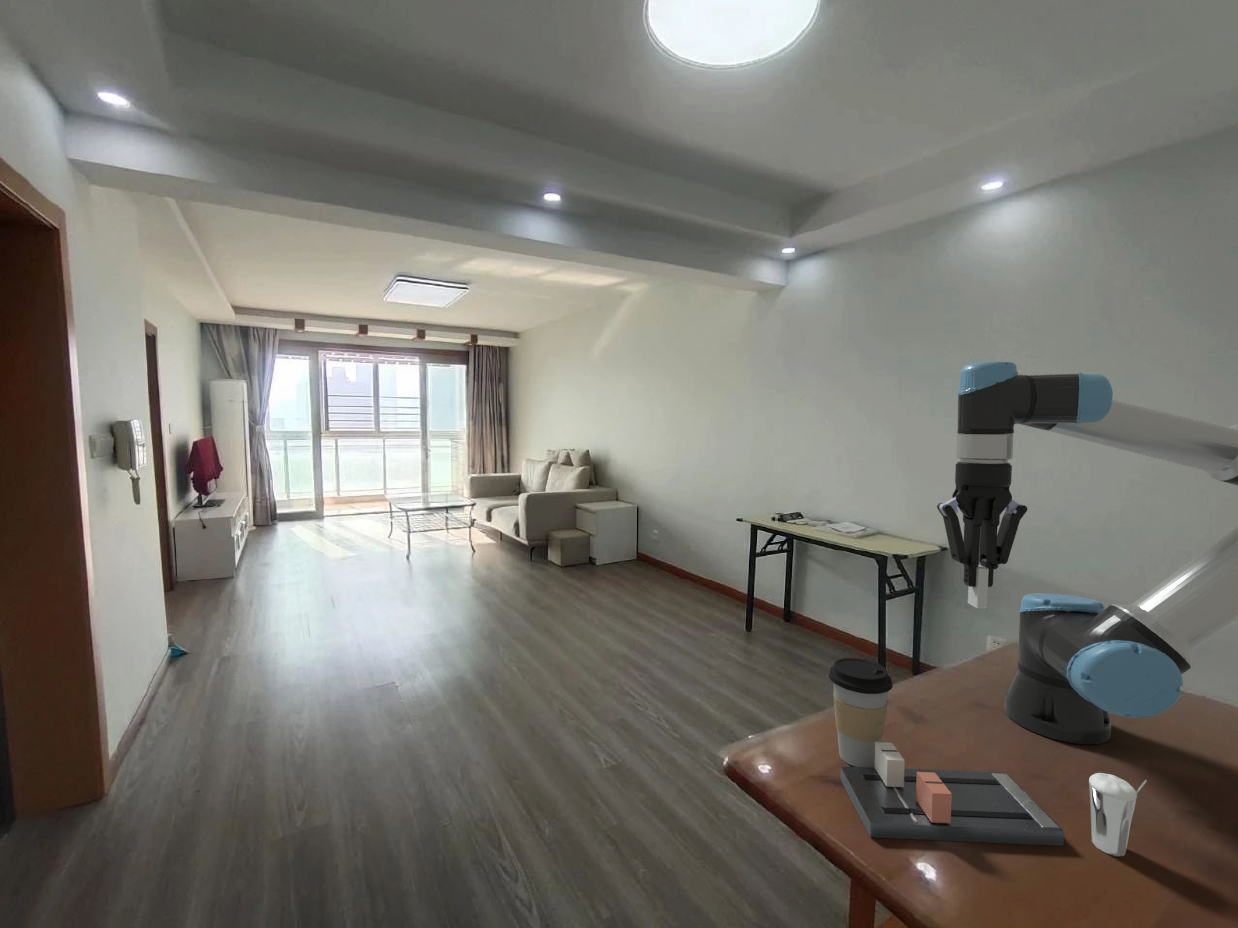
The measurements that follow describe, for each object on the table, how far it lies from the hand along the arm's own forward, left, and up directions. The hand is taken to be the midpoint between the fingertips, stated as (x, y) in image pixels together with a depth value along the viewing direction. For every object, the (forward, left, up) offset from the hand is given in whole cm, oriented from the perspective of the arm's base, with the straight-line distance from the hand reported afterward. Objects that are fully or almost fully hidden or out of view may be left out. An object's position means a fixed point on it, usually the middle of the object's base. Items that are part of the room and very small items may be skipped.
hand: (977, 605), depth 90 cm
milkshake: (-6, +21, -25) cm, 33 cm away
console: (+12, +15, -24) cm, 31 cm away
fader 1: (+18, +11, -22) cm, 31 cm away
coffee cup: (+19, +3, -25) cm, 31 cm away
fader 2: (+15, +19, -22) cm, 33 cm away
